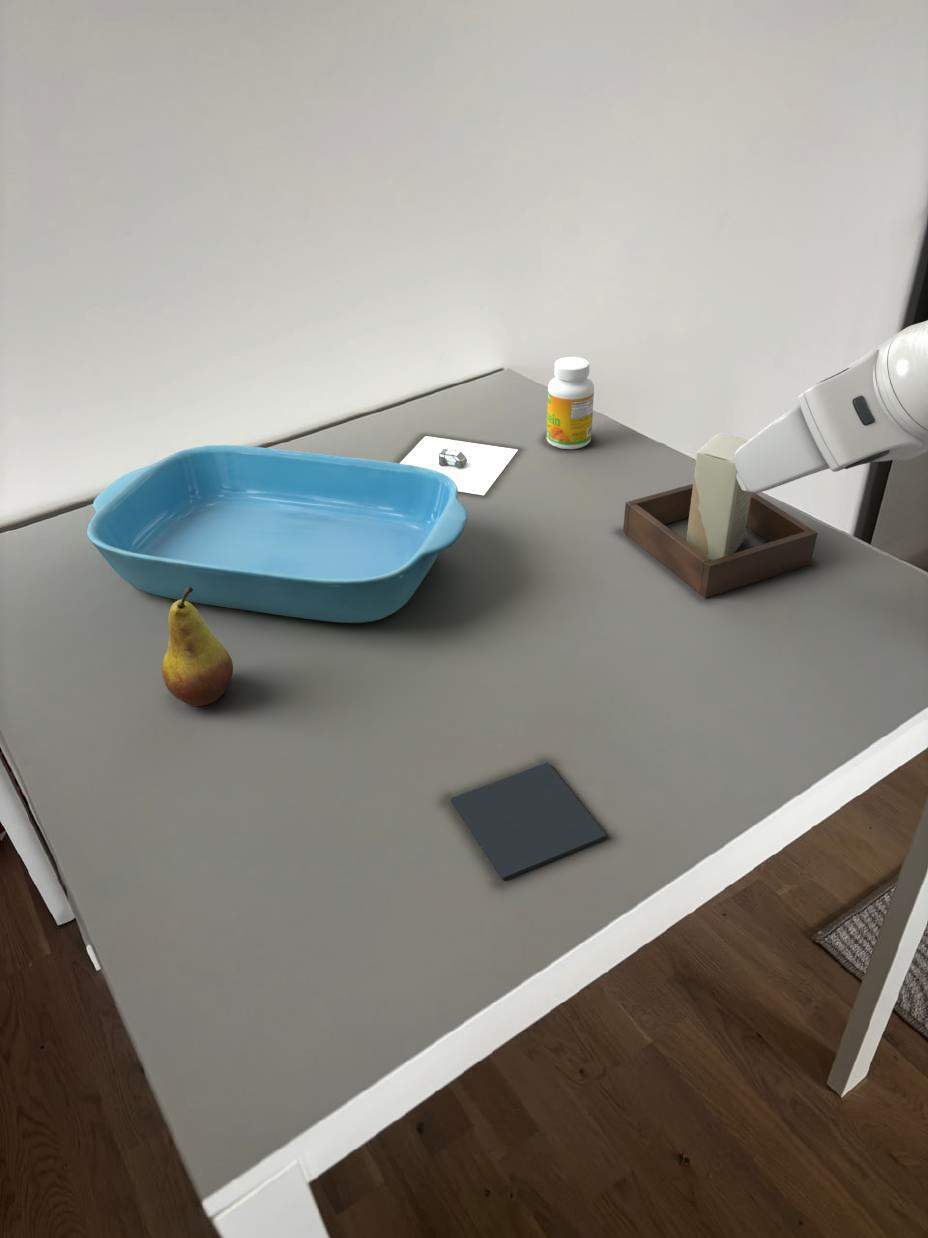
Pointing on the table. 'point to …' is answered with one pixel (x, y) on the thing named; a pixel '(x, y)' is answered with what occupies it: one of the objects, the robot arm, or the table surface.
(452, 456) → the white card
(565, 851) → the mat
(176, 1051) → the table surface
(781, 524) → the crate
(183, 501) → the casserole dish
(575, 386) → the supplement bottle
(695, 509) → the box
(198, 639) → the fruit
